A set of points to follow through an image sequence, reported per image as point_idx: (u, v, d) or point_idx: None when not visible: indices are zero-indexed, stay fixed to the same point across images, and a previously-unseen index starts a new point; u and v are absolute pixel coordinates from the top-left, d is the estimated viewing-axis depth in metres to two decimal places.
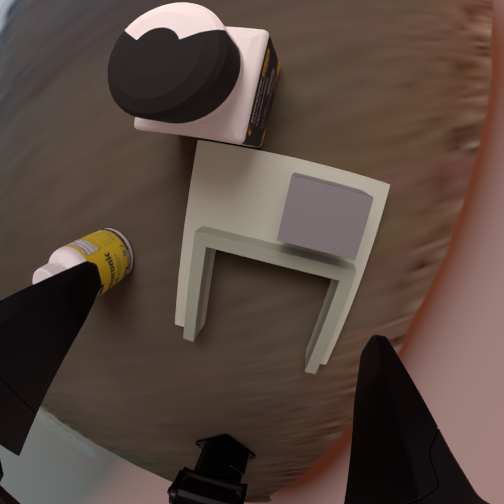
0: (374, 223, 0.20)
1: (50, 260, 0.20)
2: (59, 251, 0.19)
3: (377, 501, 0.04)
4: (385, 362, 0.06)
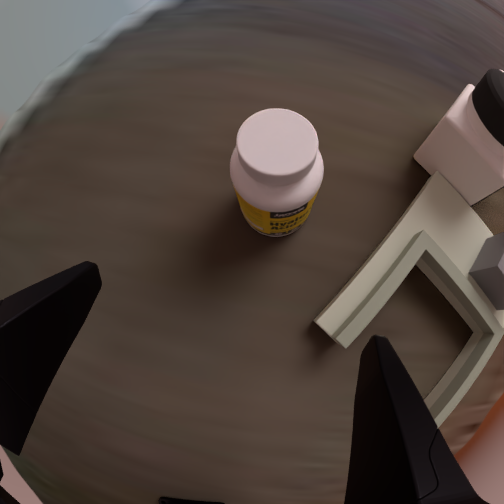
0: None
1: None
2: None
3: (377, 501, 0.04)
4: (385, 362, 0.06)
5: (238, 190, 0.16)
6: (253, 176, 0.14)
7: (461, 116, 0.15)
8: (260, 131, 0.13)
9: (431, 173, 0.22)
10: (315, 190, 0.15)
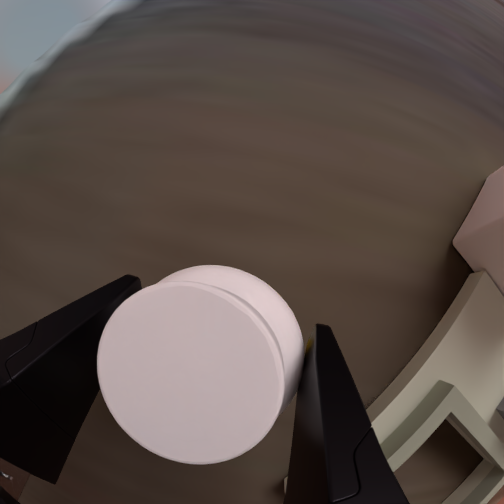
0: None
1: (198, 278, 0.08)
2: (251, 279, 0.08)
3: (303, 499, 0.04)
4: (322, 351, 0.07)
5: None
6: None
7: None
8: (141, 354, 0.05)
9: (474, 268, 0.14)
10: (281, 412, 0.07)
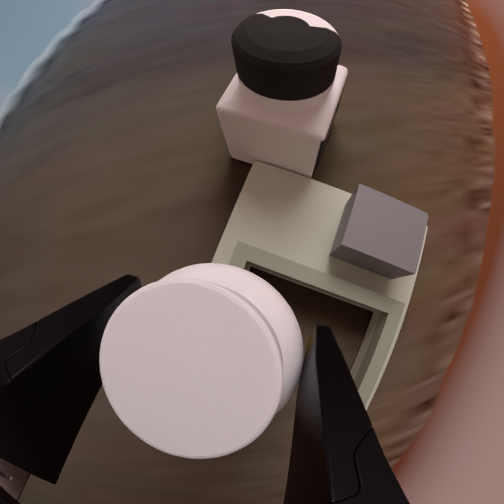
0: None
1: (198, 275, 0.08)
2: (251, 277, 0.08)
3: (303, 499, 0.04)
4: (321, 351, 0.07)
5: None
6: None
7: (235, 95, 0.16)
8: (143, 350, 0.05)
9: None
10: (281, 408, 0.07)
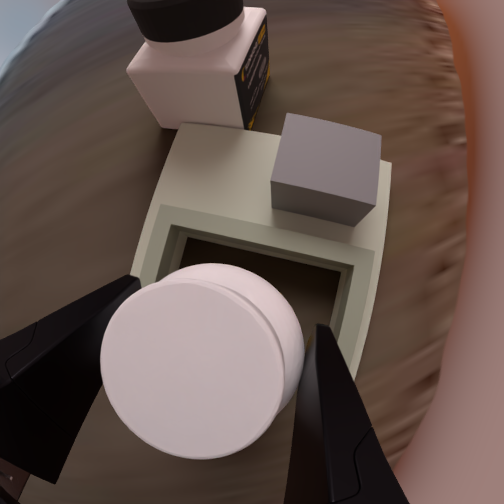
0: (383, 204, 0.16)
1: (200, 276, 0.08)
2: (252, 277, 0.08)
3: (303, 499, 0.04)
4: (321, 351, 0.07)
5: None
6: None
7: (144, 54, 0.13)
8: (144, 349, 0.05)
9: None
10: (282, 408, 0.07)
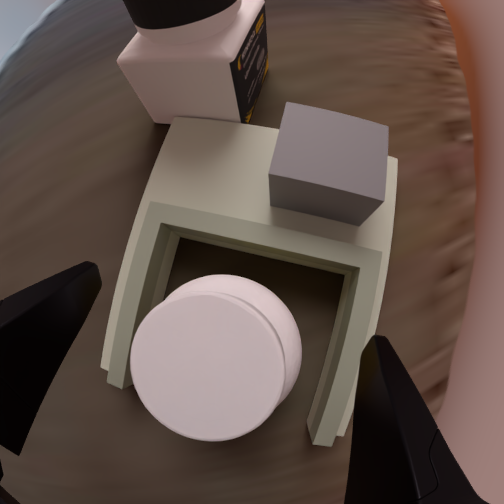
0: (389, 202, 0.15)
1: (211, 286, 0.09)
2: (256, 287, 0.09)
3: (377, 501, 0.04)
4: (385, 362, 0.06)
5: None
6: None
7: (136, 43, 0.12)
8: (170, 350, 0.07)
9: None
10: (283, 399, 0.09)
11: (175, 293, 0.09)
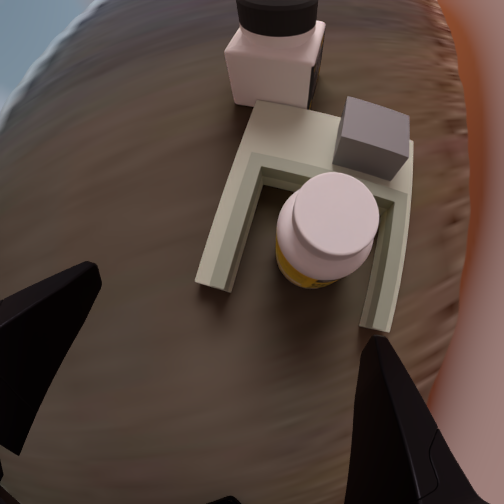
0: (409, 168, 0.21)
1: None
2: None
3: (377, 501, 0.04)
4: (385, 362, 0.06)
5: (287, 256, 0.15)
6: (310, 250, 0.13)
7: (239, 42, 0.18)
8: (320, 200, 0.12)
9: None
10: (365, 259, 0.15)
11: None
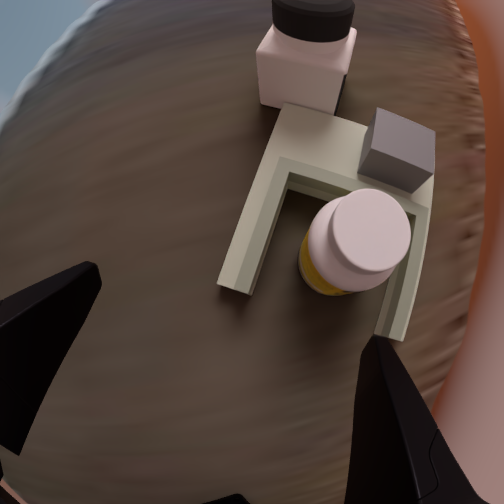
0: (429, 181, 0.21)
1: None
2: None
3: (377, 501, 0.04)
4: (385, 362, 0.06)
5: (317, 267, 0.15)
6: (344, 264, 0.13)
7: (272, 43, 0.18)
8: (357, 216, 0.13)
9: None
10: None
11: (333, 202, 0.15)
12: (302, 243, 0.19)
